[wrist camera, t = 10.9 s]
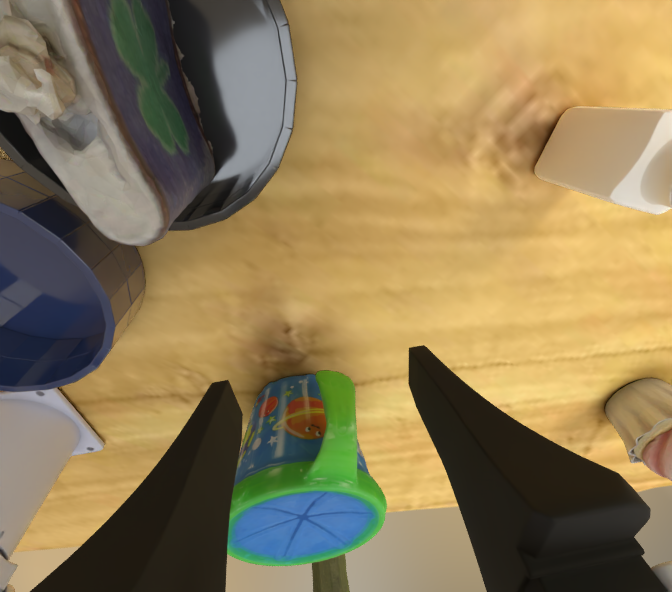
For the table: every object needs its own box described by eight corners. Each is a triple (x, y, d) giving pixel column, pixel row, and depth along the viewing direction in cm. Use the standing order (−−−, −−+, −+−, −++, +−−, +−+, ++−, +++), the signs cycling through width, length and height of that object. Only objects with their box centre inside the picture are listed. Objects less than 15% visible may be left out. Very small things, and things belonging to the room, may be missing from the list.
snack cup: (314, 460, 34) (323, 586, 25) (212, 442, 30) (182, 582, 21) (394, 355, 27) (444, 476, 18) (276, 316, 23) (270, 443, 15)
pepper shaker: (525, 175, 20) (682, 226, 12) (562, 102, 18) (777, 108, 10) (576, 188, 21) (752, 245, 13) (616, 121, 19) (851, 139, 11)
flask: (223, 182, 18) (158, 270, 9) (170, 189, 18) (48, 285, 9) (157, -52, 13) (-140, -391, 4) (83, -45, 13) (-403, -380, 4)
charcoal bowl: (105, 218, 18) (58, 251, 15) (-57, -93, 12) (-216, -181, 8) (311, 187, 19) (316, 211, 15) (262, -126, 13) (252, -222, 9)
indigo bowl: (0, 355, 22) (-59, 408, 18) (-166, 174, 16) (-309, 199, 12) (174, 325, 23) (152, 372, 19) (84, 139, 16) (22, 153, 13)
